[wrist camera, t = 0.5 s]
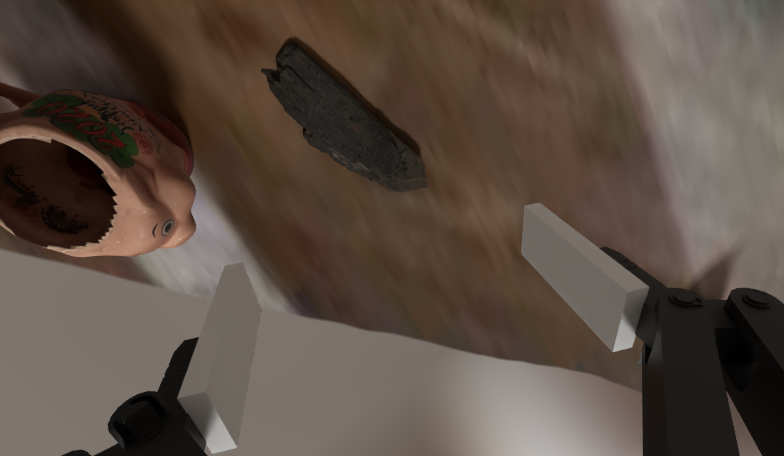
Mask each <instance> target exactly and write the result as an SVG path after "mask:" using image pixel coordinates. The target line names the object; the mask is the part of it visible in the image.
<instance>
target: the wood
mask: <svg viewBox="0 0 784 456" xmlns="http://www.w3.org/2000/svg"><path fill="white" fill-rule="evenodd" d="M276 62H277V63H278V62H279V63H278V65H279V66H278V67H277V69H278V72H277V71H275V70H272V69H263V68H262V70H261V72H263V73H264V74H265V75H266V76H267V77H268V80H267V81H268V83H269V85H270V90H271V91H272V92H273V94H274V95H275V96H276V98H277V99H278V100H279V102H280V103H281V104H282V105H283V107H284V109H285V111H286V112H287V113H288V114H289V115H290V116H291V117H292V118H294V119H295V120H296V121H297V123H298V124H300V125H301V126H303V127H304V128H305V129H307V130H306V131H305V132H304V134H303V137H304V138H305V139H306V140H307V141H308V143H309V144H310V145H311V146H313V147H315V148H317V149H319V150H320V151H321V152H326V153H327V154H329V155H330V156H331V157H332V158H333V159H334V160H335V161H336V162H338V163H340V164H341V165H343V166H345V167H346V168H347V169H348V170H350V171H354V172H356V173H358V174H360V175H361V176H366V177H367V178H368V179H369V180H370V181H372V180H374V181H375V182H377V183H378V184H380V185H381V186H383V187H385V188H386V189H387V190H388V191H395V192H404V191H411V190H415V189H419V188H427V183H426V182H425V177H426V176H425V165H424V163H423V161H422V160H421V159H420V158H419V157H418V156H417V155H416V154H415V152H414V151H413V150H412V149H410V148H409V147H408V146H407V145H406V144H405V143H403V142H402V141H401V140H400V139H399V138H398V137H397V136H396V135H395V134H394V133H392V132H391V131H390V130H389V129H388V128H387V127H386V126H385V125H384V124H383V123H382V122H380V121H379V120H378V119H377V118H376V117H375V116H374V115H372V114H371V113H370V112H369V111H368V110H367V109H366V108H365V107H364V106H363V105H362V104H361V103H360V102H359V101H358V100H357V99H356V98H355V97H354V96H353V95H351V94H350V93H349V92H348V90H347V89H346V88H344V87H343V86H342V85H341V84H340V83H339V82H338V81H337V80H335V78H334V77H332V76H331V75H330V74H328V73H327V72H326V71H325V70H323V69H322V68H321V67H320V66H319V65H318V64H317V63H316V62H315V61H314V60H312V59H311V58H310V57H309V56H308V55H307V54H306V53H305V52H304V50H303V49H302V48H301V47H300V46H299V45H298V44H296V43H295V42H293V41H290V43H289V44H287V45H285V46H284V47H283V48H282V49H281V50H280V56H276ZM275 75H276V76H275Z"/></svg>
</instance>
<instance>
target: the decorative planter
mask: <svg viewBox="0 0 784 456" xmlns="http://www.w3.org/2000/svg"><path fill="white" fill-rule="evenodd" d="M0 96H3V97H5V98H7V99H9V100H10V101H11V102H12V103H13V104H15V105H16V106H17V107H19V108H20V109H19V110H16V111H14V112H9V113H0V225H1V226H2V227H4V228H5V229H6V230H8V231H9V232H11V233H12V234H14V235H15V236H16V237H17V238H19V239H22V240H24V241H27V242H29V243H32V244H35V245H38V246H41V247H44V248H48V249H52V250H55V251H58V252H61V253H64V254H67V255H70V256H75V257H87V256H100V255H116V256H138V255H142V254H146V253H149V252H152V251H154V250H156V249H157V248H174V247H177V246H179V245H182V244H183V243H185V242H186V241H187V240H188V239H189V238H190V237H191V236H192V235H193V234H194V232H195V230H196V224H195V221H194V218H193V216H192V213H191V208H192V205H193V202H194V198H195V193H196V190H195V185H194V184H193V182H192V180H191V179H190V175H191V173H192V170H193V166H194V157H193V152H192V149H191V146H190V143H189V141H188V139H187V138H186V136H185V135H184V134H183V133H182V132H181V130H180V129H179V128H178V127H177V126H176V125H175V124H173V123H172V122H171V121H170V120H169V119H167V118H166V117H165V116H163V115H162V114H160V113H159V112H157V111H155V110H154V109H152V108H150V107H148V106H146V105H143V104H141V103H137V102H134V101H131V100H125V99H112V98H109V97H106V96H103V95H100V94H97V93H93V92H88V91H82V90H72V89H63V90H58V91H55V92H52V93H49V94H47V95H44V96H40V95H38V94H35V93H32V92H29V91H26V90H23V89H20V88H16V87H13V86H10V85H7V84H4V83H0Z"/></svg>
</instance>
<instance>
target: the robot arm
mask: <svg viewBox="0 0 784 456" xmlns="http://www.w3.org/2000/svg"><path fill="white" fill-rule="evenodd" d="M521 254H522V255H523V256H524V257H525V258H526V259H527V260H528V262H529V263H530V264H531V265H532V266H533V267H534V268H535V269H536V270H537V271H538V272H539V273H540V274H541V276H542V277H543V278H544V279H545V280H546V281H547V282H548V283H549V284H550V285H551V286H552V287H553V288H554V290H555V291H556V292H557V293H558V294H559V295H560V296H561V297H562V298H563V299H564V300H565V301H566V302H567V304H568V305H569V306H570V307H571V308H572V309H573V310H574V311H575V312H576V313H577V314H578V315H579V316H580V318H581V319H582V320H583V321H584V322H585V323H586V324H587V325H588V326H589V327H590V328H591V329H592V330H593V331H594V333H595V334H596V335H597V336H598V337H599V338H600V339H601V340H602V341H603V342H604V343H605V344H606V345H607V347H608V348H609V349H610V350H611V351H612V352H615V351H619V350H623V349H627V348H631V347H632V346H633V343H634V339H635V336H636V335H637V336H638V337H639V338H640V339H641V340H642V341H643V342H644V345H643V348H642V351H641V354H640V358H639V361H638V364H637V365H642V406H643V407H642V408H643V409H642V410H643V411H642V414H643V456H740V455H739V450H738V445H737V440H736V436H735V431H734V426H733V422H732V417H731V412H730V408H729V403H728V398H727V393H726V390H727V392H728V394H729V396H730V398H731V399H732V401H733V403H734V405H735V407H736V409H737V411H738V412H739V414H740V416H741V418H742V419H743V421H744V423H745V425H746V427H747V429H748V431H749V432H750V434H751V436H752V438H753V440H754V441H755V443H756V445H757V447H758V449H759V451H760V452H761V454H762V456H784V304H783V303H782V302H781V301H779V300H778V299H777V298H776V297H774V296H772V295H770V294H768V293H766V292H763V291H760V290H756V289H750V288H736V289H734V290H732V291H731V292H730V294H729V296H728V299H727V300H704V299H703V298H701V297H700V296H699V295H697V294H695V293H693V292H691V291H688V290H685V289H681V288H667V287H666V286H665V285H663V284H662V283H660V282H659V281H658V280H656V279H655V278H654V277H652V276H651V275H649V274H648V273H647V272H645V271H644V270H643V269H641V268H640V267H639V268H638V266H637V265H636V264H634V263H633V262H632V261H631V262H630V261H629V259H628V258H626V257H625V256H623V255H622V254H621V253H619V252H617V251H615V250H612V249H610V248H607V247H603V248H598V247H597V246H595V245H594V244H593V243H591V242H590V241H589V240H587V239H586V238H585V237H584V236H582V235H581V234H580V233H578V232H577V231H576V230H574V229H573V228H572V227H571V226H569V225H568V224H567V223H565V222H564V221H563V220H561V219H560V218H559V217H558V216H556V215H555V214H554V213H552V212H551V211H550V210H548V209H547V208H546V207H544V206H543V205H542V204H541V203H535V204H531V205H526V206H524V220H523V236H522V251H521ZM260 315H261V308H260V305H259V303H258V300H257V297H256V295H255V292H254V290H253V287H252V285H251V282H250V279H249V277H248V274H247V272H246V269H245V267H244V264H243V263H238V264H233V265H228V266H225V267H224V270H223V273H222V276H221V278H220V281H219V284H218V287H217V290H216V292H215V295H214V298H213V301H212V303H211V306H210V309H209V312H208V314H207V317H206V320H205V323H204V325H203V328H202V331H201V334H200V337H198V338H193V339H188V340H184V342H183V343H182V344H181V345H180V346H179V347H178V348H177V350H176V351H175V352H174V354H173V356H172V358H171V361H170V363H169V367H168V368H167V370H166V373H165V377H164V378H163V380H162V382H161V384H160V387H159V389H158V392H155V391H147V392H143V393H140V394H137V395H135V396H133V397H132V398H130V399H128V400H127V401H125V402H124V403H123V404H122V405H121V406H119V407H118V408H117V410H116V411H115V412H114V414H113V415H112V416H111V418H110V421H109V423H108V430H109V433H110V434H111V435H112V436H113V437H114V438H115V440H116V441H117V442H118V444H116V445H114V446H112V447H110V448H108V449H107V450H104V451H103V452H101V453H98V454H96V455H94V456H207V455H206V453H205V452H204V449H205V445H206V444H207V446H208V448H209V449H210V451H211V452H212V454H214V453H217V452H221V451H225V450H229V449H233V448H237V446H238V439H239V434H240V429H241V423H242V417H243V412H244V406H245V400H246V394H247V389H248V382H249V377H250V372H251V366H252V360H253V355H254V349H255V343H256V338H257V332H258V326H259V320H260ZM62 456H91V455H90V454H89V453H88V452H86V451H84V450H76V451H71V452H69V453H67V454H64V455H62Z"/></svg>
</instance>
